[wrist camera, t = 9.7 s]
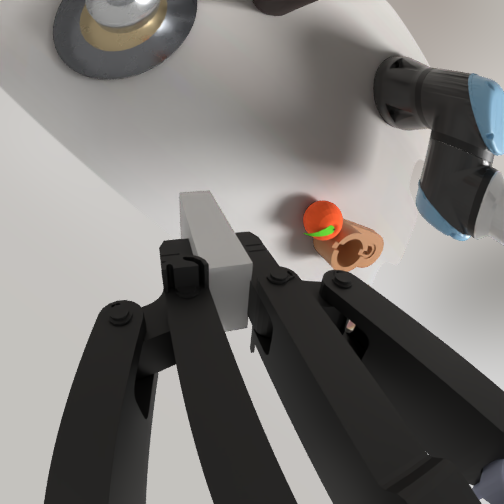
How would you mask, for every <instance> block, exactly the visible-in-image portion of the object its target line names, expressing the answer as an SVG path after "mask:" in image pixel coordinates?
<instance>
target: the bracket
mask: <svg viewBox="0 0 504 504" xmlns="http://www.w3.org/2000/svg"><path fill="white" fill-rule="evenodd" d="M313 244H314V247H315V249H316V251H317V252H318V253H319V254H320V255H321V256H322V257H323V258H324V259H325V260H326V261H327V262H328V263H329V264H330V265H331V266H332V267H333V269H334V270H343V271H346V272H348V271H350V270H352V269H354V268H355V267H360V268H364V267H368V266H370V265H371V264H373V263H374V262H375V261H376V260H377V259H378V257H379V256H380V254H381V252H382V250H383V245H384V242H383V238H382V237H381V236H380V235H379V234H377V233H376V232H375V231H374V230H372V229H370V228H367V227H364V226H362V225H359V224H356V223H354V222H351V221H348V220H345V219H343V224H342V228H341V230H340V232H339V233H338V234H337V235H336V236H335V237H334V238H332V239H329V240H324V241H322V240H317V239H315V238H314V239H313Z"/></svg>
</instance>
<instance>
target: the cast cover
mask: <svg viewBox="0 0 504 504" xmlns="http://www.w3.org/2000/svg"><path fill="white" fill-rule="evenodd" d="M159 6H160V0H86V8H87V10H88V12H89V14H90V15H91V16H92V17H93V19H94V20H95V21H96V22H97V24H98V25H99V26H100V27H101V28H102V29H104V30H106V31H108V32H111V33H128V32H132V31H135V30H137V29H139V28H141V27H143V26H144V25H146V24H147V23H148V22H150V21H151V20H152V19H153V17H154V16H155V15H156V13H157V11H158V9H159Z"/></svg>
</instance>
